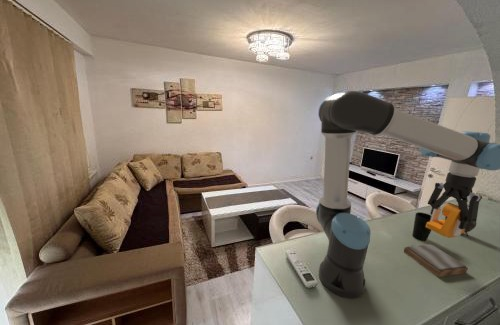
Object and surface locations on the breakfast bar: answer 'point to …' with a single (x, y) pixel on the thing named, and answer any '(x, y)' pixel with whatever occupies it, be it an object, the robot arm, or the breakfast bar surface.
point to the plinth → (435, 260)
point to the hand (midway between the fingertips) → (444, 228)
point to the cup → (421, 226)
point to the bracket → (446, 221)
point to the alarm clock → (468, 226)
